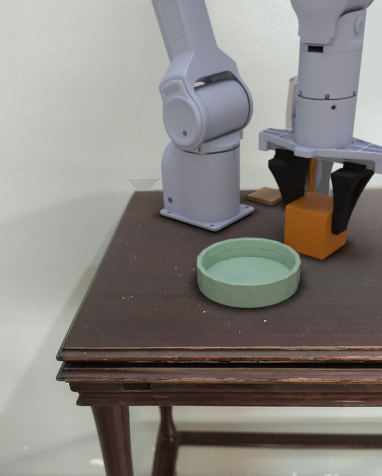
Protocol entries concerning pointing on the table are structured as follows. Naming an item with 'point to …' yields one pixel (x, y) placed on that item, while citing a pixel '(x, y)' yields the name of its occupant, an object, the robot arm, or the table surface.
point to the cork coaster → (266, 196)
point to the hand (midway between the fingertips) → (316, 225)
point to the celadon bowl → (248, 272)
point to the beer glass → (318, 169)
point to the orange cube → (312, 226)
